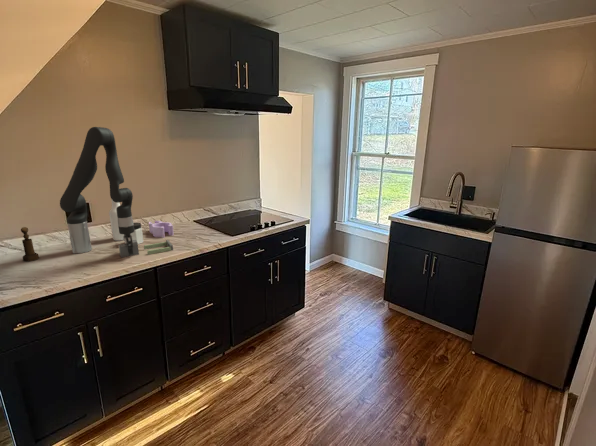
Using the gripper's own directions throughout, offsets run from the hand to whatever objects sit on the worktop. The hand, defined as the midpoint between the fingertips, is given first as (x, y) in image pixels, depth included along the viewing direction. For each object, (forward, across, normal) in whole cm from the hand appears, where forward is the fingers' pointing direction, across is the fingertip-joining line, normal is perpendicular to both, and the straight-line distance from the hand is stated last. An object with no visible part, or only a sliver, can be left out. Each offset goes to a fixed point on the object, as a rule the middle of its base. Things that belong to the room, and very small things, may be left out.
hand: (129, 251), depth 178 cm
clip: (+2, -31, +23) cm, 39 cm away
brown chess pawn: (+2, -20, -45) cm, 49 cm away
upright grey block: (+2, 0, 0) cm, 2 cm away
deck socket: (+2, 0, +15) cm, 15 cm away
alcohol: (+2, -33, -1) cm, 33 cm away
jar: (+2, -20, +6) cm, 21 cm away
